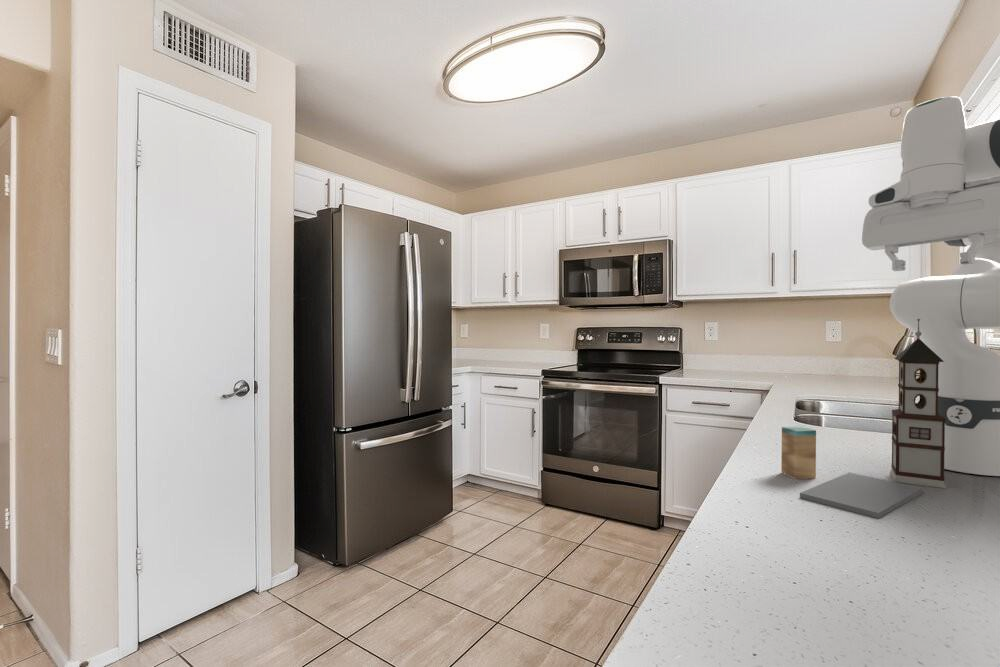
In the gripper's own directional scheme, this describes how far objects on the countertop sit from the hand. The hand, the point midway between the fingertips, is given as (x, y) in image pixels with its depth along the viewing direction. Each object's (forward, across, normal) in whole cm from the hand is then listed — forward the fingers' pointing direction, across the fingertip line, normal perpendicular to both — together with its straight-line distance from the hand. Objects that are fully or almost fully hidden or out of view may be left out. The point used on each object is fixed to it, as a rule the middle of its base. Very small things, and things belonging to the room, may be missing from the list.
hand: (931, 267), depth 88 cm
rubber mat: (+40, +6, +10) cm, 42 cm away
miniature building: (+38, +4, -8) cm, 40 cm away
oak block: (+39, +18, +8) cm, 44 cm away
